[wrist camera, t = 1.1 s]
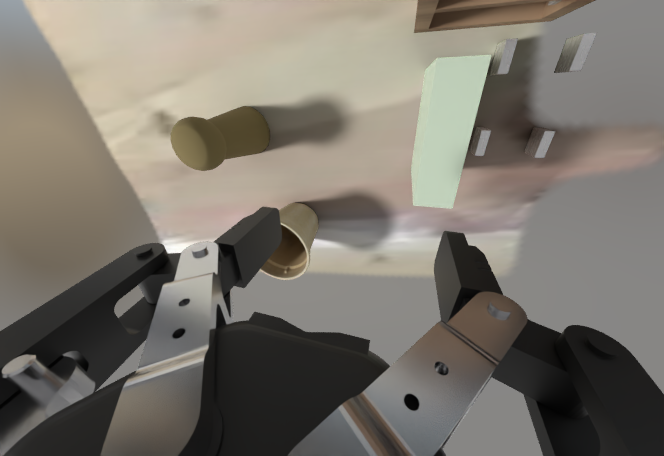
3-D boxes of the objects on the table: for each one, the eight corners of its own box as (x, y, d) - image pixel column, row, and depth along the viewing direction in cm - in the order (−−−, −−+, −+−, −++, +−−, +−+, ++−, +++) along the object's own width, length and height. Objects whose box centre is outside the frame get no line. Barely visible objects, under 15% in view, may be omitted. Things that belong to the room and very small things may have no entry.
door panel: (425, 69, 24) (436, 58, 14) (466, 67, 23) (507, 53, 14) (411, 168, 29) (413, 205, 20) (444, 169, 28) (463, 209, 19)
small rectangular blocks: (497, 43, 21) (506, 39, 19) (578, 38, 20) (597, 32, 18) (469, 150, 26) (474, 155, 24) (533, 152, 25) (544, 157, 23)
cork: (276, 124, 30) (220, 139, 21) (260, 162, 34) (206, 189, 25) (236, 96, 30) (162, 99, 21) (224, 137, 33) (156, 156, 24)
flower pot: (269, 232, 40) (239, 264, 33) (276, 183, 35) (242, 207, 28) (320, 252, 39) (301, 289, 32) (335, 205, 34) (316, 236, 27)
